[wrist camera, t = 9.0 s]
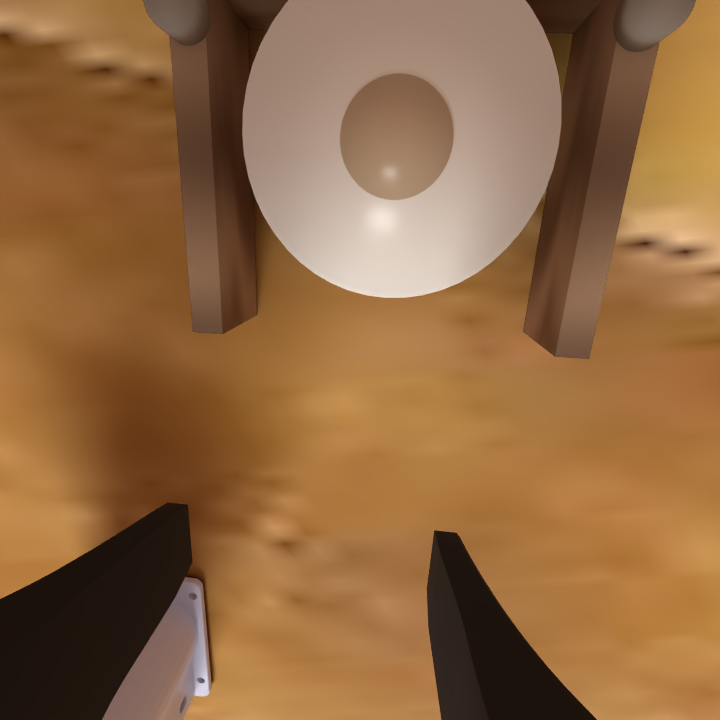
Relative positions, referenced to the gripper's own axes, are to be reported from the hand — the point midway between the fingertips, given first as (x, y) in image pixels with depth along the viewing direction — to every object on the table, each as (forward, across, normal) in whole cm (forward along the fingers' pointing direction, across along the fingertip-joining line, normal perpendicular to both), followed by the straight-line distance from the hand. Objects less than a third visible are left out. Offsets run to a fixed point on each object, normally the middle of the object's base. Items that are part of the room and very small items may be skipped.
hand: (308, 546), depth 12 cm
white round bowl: (+10, -2, -11) cm, 15 cm away
